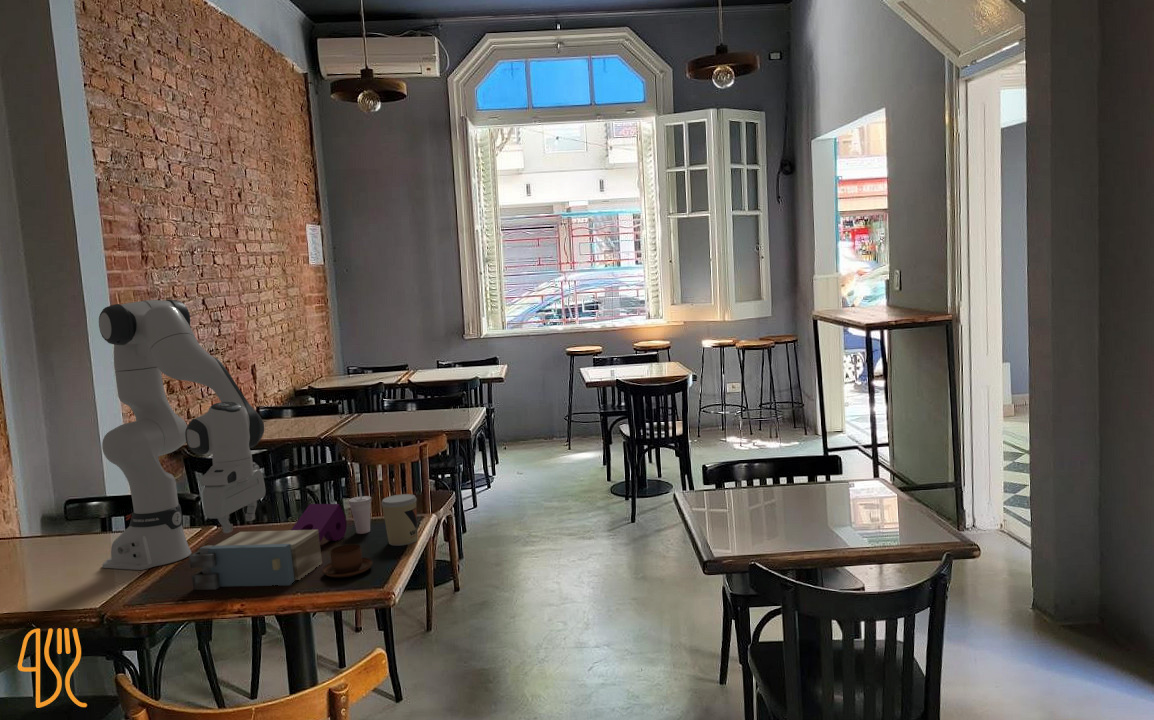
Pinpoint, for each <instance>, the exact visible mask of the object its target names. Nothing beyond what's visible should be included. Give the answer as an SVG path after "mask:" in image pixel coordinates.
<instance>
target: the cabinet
mask: <svg viewBox="0 0 1154 720" xmlns="http://www.w3.org/2000/svg"><path fill="white" fill-rule="evenodd" d="M262 544H290V546H291V554H292V562H293V571H294V579H295V580H299V581H300V580H302V579H303V578H304V577H306V576H308V573H309V574H310V573H311V572H312V571H314V570H315V568H316V567H317V568H319V567H320V566H321V565H323V559H322V551H321V550H322V549H321V541H319V532H318V530H291V529H289V530H261V531H260V530H258V531H257V530H254V531H239V532H238V533H236V534H234V535H231V536H230V537H228V538H226V539H224V540H222V541H221V542H219V543H217V544H215V545H214V546H224V545H262ZM188 558H189V565H190V568H195V569H197V568H198V569H199V568H201V570H200V571H197V572H196V573H194V574H193V575H191V582H192V588H193V590H194V591H197V590H198V591H201V590H202V591H203V590H204V591H205V590H217V589H219V588H220V587H221V586H220V585H219V577H218V573H214V574H203V573H202V567H214V566H216V565H217V561H216V554H215V553H212V554H200V550H197V551H195V552H193V553H191V554H190V555H189V556H188ZM319 565H320V566H319ZM317 568H316V569H317ZM305 575H306V576H305ZM301 578H302V579H301Z"/></svg>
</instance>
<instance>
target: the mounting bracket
mask: <svg viewBox="0 0 1154 720" xmlns="http://www.w3.org/2000/svg"><path fill="white" fill-rule="evenodd" d="M346 518H347V517H346V516H345V514H344V511H343V509H342V507H341V505H340V503H309V504H308V506H307V507H306V509H305V510H304V511H303V513H302V514H301V516H300V517H299V518H298V519H297V521H296V522H295V524H294V525H293V526H292V528H291V529H290V530H318V532H319V541H320V542H321V541H322V540H323V538H325V540H326V541H328V542H338V541H340V540H341V539H343V538H344V537H345V534H346V532H347V525H348V523H347V519H346ZM337 540H338V541H337Z"/></svg>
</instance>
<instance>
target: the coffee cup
mask: <svg viewBox="0 0 1154 720" xmlns="http://www.w3.org/2000/svg"><path fill="white" fill-rule="evenodd" d="M417 500H418V498H417V497H416V495H414V494H411V493H402V494H394V495H390V496H386V497H385V498H383V499H382V500H381V506H382V507H381V508H382V512H383V518H384V523H385V529H386V530H385V531H386V535H387V540H388V544H389V545H391V546H400V547H401V546H407V545H410V544H414V543H417V541H418V515H417V514H418V513H417V512H418V511H417V509H418V508H417Z"/></svg>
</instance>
